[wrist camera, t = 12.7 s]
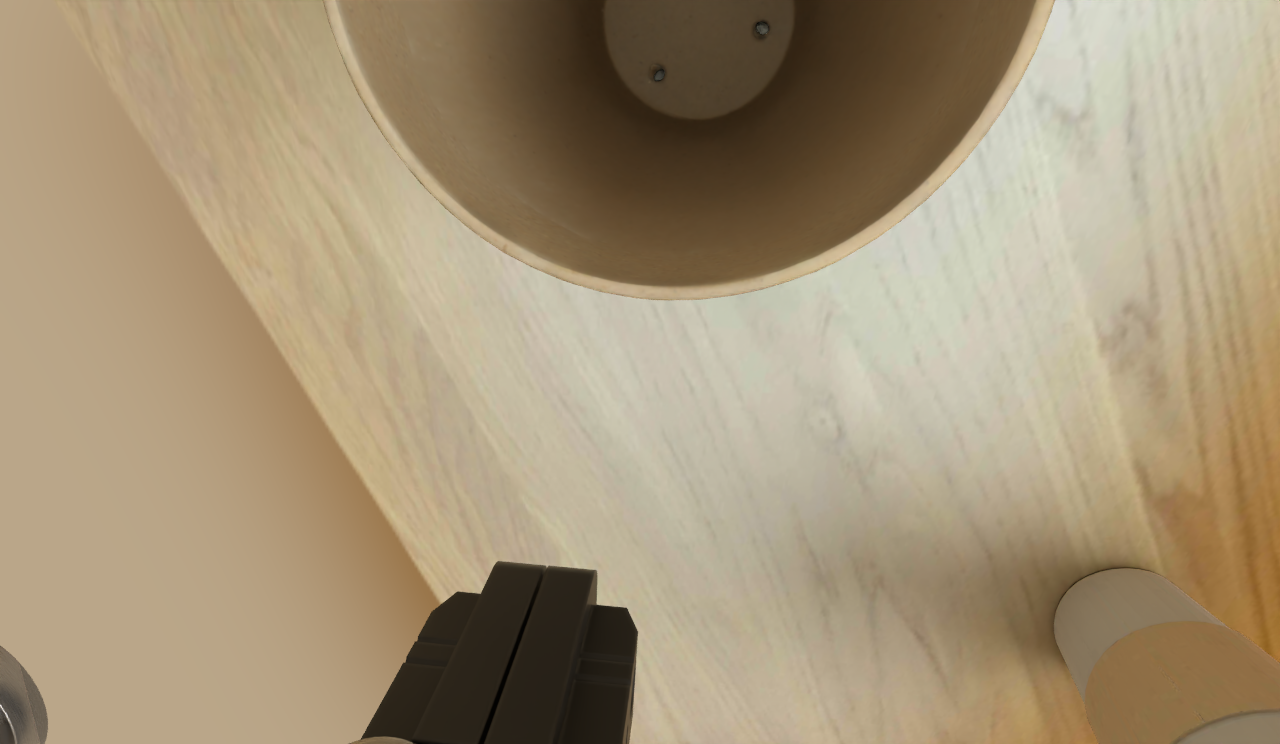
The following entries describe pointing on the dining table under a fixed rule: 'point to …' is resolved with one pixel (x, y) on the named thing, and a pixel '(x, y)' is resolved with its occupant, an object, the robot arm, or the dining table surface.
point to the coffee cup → (1163, 665)
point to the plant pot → (684, 124)
